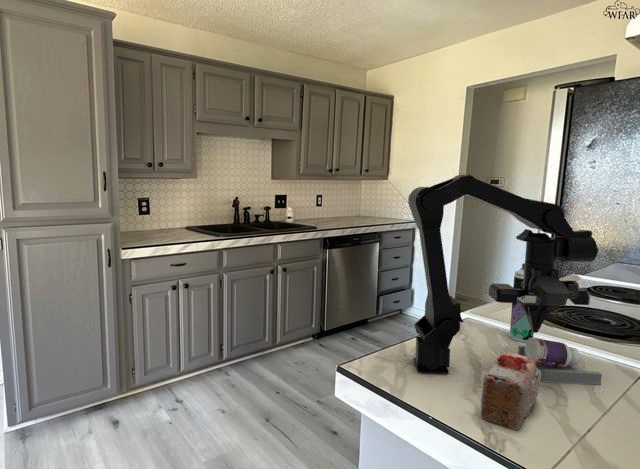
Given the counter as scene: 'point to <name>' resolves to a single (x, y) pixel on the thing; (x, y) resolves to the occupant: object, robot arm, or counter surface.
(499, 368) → the food item
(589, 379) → the tray
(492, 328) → the counter surface
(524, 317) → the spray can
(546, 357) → the pill bottle
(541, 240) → the robot arm
